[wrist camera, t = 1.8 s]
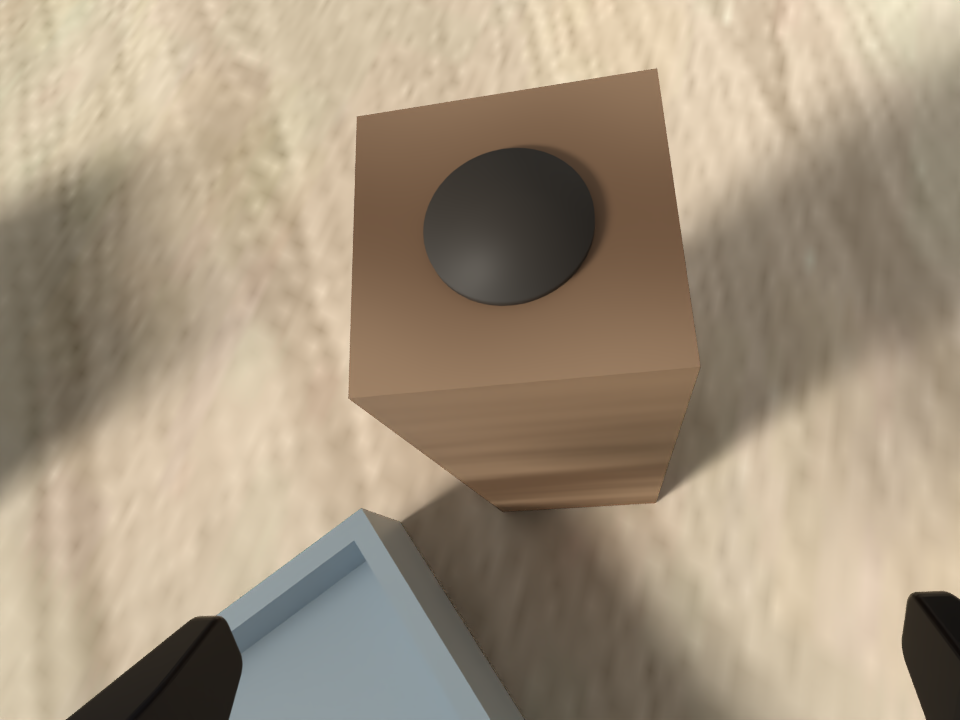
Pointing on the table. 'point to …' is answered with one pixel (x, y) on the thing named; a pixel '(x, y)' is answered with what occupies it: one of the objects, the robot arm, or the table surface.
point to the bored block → (526, 290)
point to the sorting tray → (359, 637)
